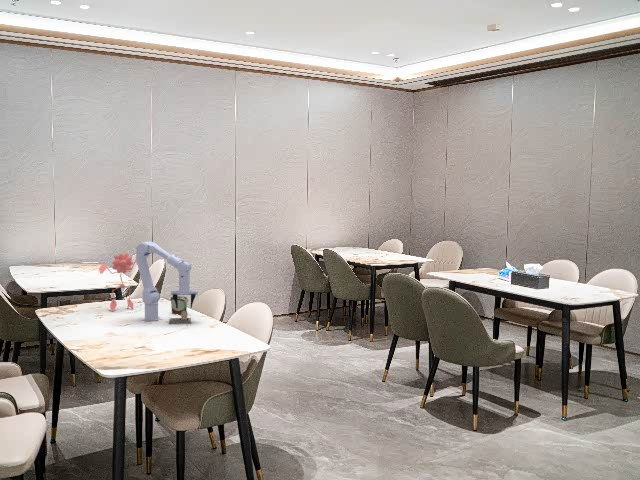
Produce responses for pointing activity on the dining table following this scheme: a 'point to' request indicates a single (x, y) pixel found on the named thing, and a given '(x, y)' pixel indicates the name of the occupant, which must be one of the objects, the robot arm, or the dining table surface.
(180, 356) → the dining table surface
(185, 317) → the peg
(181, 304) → the food container
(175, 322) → the plate
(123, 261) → the figurine
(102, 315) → the dining table surface
